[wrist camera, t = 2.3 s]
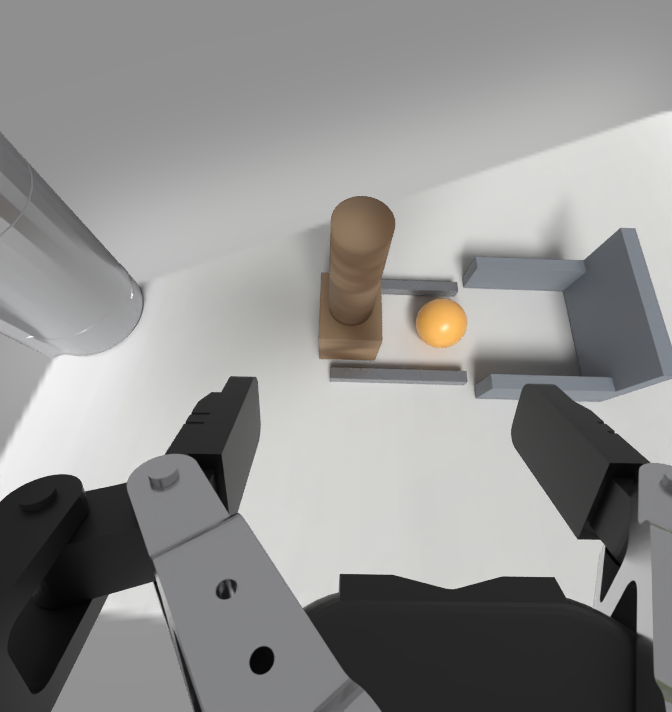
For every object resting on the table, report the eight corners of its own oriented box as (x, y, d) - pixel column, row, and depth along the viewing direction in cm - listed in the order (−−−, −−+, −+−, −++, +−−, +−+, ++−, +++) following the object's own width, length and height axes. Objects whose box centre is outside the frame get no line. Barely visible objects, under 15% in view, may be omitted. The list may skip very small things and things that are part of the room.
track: (329, 381, 33) (330, 378, 32) (332, 283, 36) (332, 277, 36) (463, 385, 33) (467, 381, 32) (453, 287, 37) (457, 282, 36)
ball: (427, 363, 34) (442, 345, 30) (401, 324, 35) (412, 302, 31) (466, 342, 35) (485, 322, 31) (440, 305, 36) (455, 281, 32)
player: (319, 358, 33) (316, 266, 20) (321, 299, 36) (320, 178, 22) (374, 360, 34) (410, 269, 20) (373, 301, 36) (405, 181, 22)
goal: (475, 398, 33) (520, 371, 25) (462, 277, 37) (497, 223, 30) (600, 401, 33) (680, 375, 26) (572, 281, 37) (635, 228, 30)
